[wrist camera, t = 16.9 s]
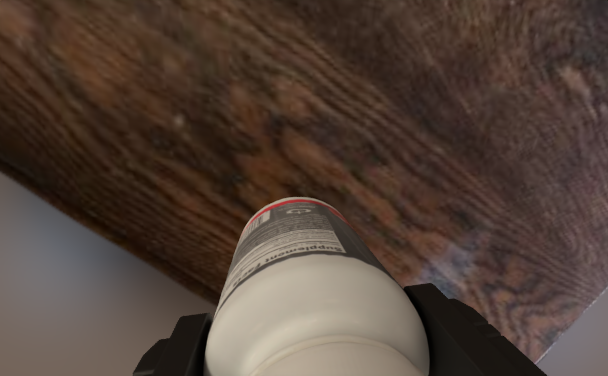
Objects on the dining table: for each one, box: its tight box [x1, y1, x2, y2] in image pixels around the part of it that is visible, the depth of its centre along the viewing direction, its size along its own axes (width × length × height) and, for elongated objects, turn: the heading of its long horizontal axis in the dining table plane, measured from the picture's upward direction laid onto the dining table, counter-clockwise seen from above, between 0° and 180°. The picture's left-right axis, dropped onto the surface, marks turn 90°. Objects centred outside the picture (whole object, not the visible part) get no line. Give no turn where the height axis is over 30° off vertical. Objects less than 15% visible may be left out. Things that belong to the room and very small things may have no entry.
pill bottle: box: [203, 197, 430, 376], centre depth 9 cm, size 5×5×10 cm
